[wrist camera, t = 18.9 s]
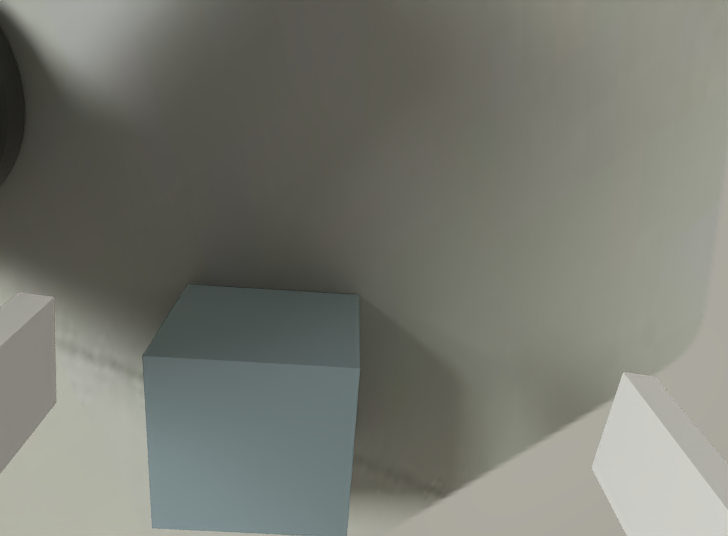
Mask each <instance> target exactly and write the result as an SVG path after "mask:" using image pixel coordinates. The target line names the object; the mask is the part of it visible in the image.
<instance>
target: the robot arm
mask: <svg viewBox="0 0 728 536" xmlns="http://www.w3.org/2000/svg"><path fill="white" fill-rule="evenodd" d="M23 130H24V96H23V89H22V84H21V79H20V75H19V71H18V68H17V65H16V62H15V59H14V56H13V54H12V51H11V49H10V47H9V44H8V42H7V40H6V38H5V36H4V34H3V32H2V30H1V29H0V185H1V184H2V183H3V182H4V180H5V179H6V177H7V176H8V174H9V172H10V170H11V169H12V167H13V165H14V162H15V160H16V158H17V155H18V152H19V149H20V145H21V141H22V136H23ZM55 403H56V358H55V301H54V297H52V296H44V295H37V294H29V293H22V292H19V293H18V294H16V295H15V296H14V297H13V298H11V299H10V300H9V301H8V302H6V303H5V304H4V305H3V306H1V307H0V473H1V472H2V471H3V470H4V468H5V467H6V466H7V465H8V463H9V462H10V461H11V459H12V458H13V457H14V456H15V454H16V453H17V452H18V451H19V449H20V448H21V447H22V445H23V444H24V443H25V442H26V440H27V439H28V438H29V437H30V435H31V434H32V433H33V431H34V430H35V429H36V428H37V426H38V425H39V424H40V423H41V421H42V420H43V419H44V417H45V416H46V415H47V414H48V412H49V411H50V410H51V409H52V407H53V406H54V405H55ZM591 468H592V470H593V472H594V474H595V476H596V478H597V480H598V482H599V484H600V486H601V488H602V489H603V491H604V493H605V495H606V497H607V499H608V501H609V503H610V505H611V507H612V508H613V510H614V512H615V514H616V516H617V518H618V520H619V522H620V524H621V526H622V528H623V530H624V531H625V533H626V535H627V536H728V463H727V462H726V461H725V460H724V459H723V458H722V456H721V455H720V454H719V453H718V451H717V450H716V449H715V448H714V447H713V445H712V444H711V443H710V442H709V441H708V440H707V438H706V437H705V436H704V435H703V433H701V431H700V430H699V429H698V428H697V426H696V425H695V424H694V423H693V422H692V420H691V419H690V418H689V417H688V416H687V414H686V413H685V412H684V411H683V410H682V408H681V407H680V406H679V405H678V404H677V402H676V401H675V400H674V399H673V398H672V396H671V395H670V394H669V393H668V392H667V391H666V389H665V388H664V387H663V386H662V385H661V383H660V382H659V381H658V380H657V378H656V377H655V376H650V375H642V374H635V373H627V372H623V374H622V377H621V380H620V383H619V386H618V389H617V392H616V395H615V398H614V401H613V404H612V407H611V410H610V413H609V416H608V419H607V422H606V425H605V428H604V431H603V434H602V437H601V440H600V443H599V446H598V449H597V452H596V455H595V458H594V461H593V464H592V467H591Z"/></svg>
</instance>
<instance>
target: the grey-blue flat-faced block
mask: <svg viewBox="0 0 728 536" xmlns="http://www.w3.org/2000/svg"><path fill="white" fill-rule="evenodd" d="M142 357H143V375H144V392H145V410H146V428H147V446H148V464H149V482H150V500H151V518H152V528H158V529H179V530H200V531H221V532H241V533H262V534H283V535H304V536H347V528H348V515H349V503H350V490H351V477H352V465H353V452H354V440H355V427H356V415H357V402H358V390H359V377H360V313H359V295H354V294H338V293H322V292H306V291H290V290H273V289H257V288H241V287H225V286H208V285H192V284H188V285H187V286H186V288H185V290H184V291H183V293H182V294H181V296H180V297H179V299H178V301H177V302H176V304H175V305H174V307H173V309H172V310H171V312H170V313H169V315H168V316H167V318H166V320H165V321H164V323H163V324H162V326H161V327H160V329H159V331H158V332H157V334H156V335H155V337H154V338H153V340H152V342H151V343H150V345H149V346H148V348H147V350H146V351H145V353H144V354H143V356H142Z"/></svg>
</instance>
